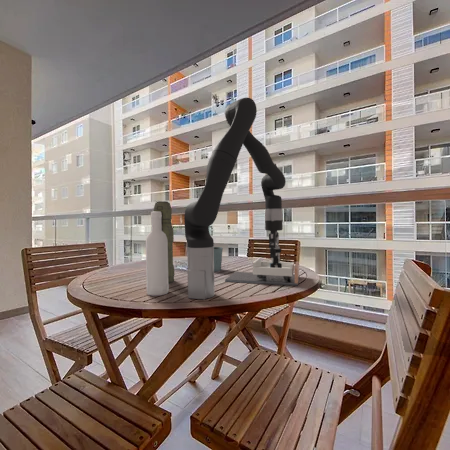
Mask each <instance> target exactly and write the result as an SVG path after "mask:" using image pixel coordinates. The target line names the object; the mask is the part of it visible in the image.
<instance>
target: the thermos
mask: <svg viewBox="0 0 450 450" xmlns="http://www.w3.org/2000/svg"><path fill="white" fill-rule="evenodd" d="M172 211H173V209H172V206H171V203H170V201H167V200H166V201H165V200H163V201H162V200H161V201H159V200H158V201H155V203H154V205H153V212H161V215H162V217H161V224H162V231H163V232H164V233H165V234H166V237H167V240H168V283H169V284H173V283H174V282H175V266H174V249H173V243H174V241H175V239H174V227H173V223H172V218H173V216H172V214H173V213H172Z"/></svg>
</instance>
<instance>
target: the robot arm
mask: <svg viewBox="0 0 450 450" xmlns="http://www.w3.org/2000/svg"><path fill="white" fill-rule="evenodd" d="M257 111H258V110H257V104H256V102H255V101H254V99H252V98H250V97H242V98H239V99H237V100H236V101H234V102H231V103H230V104H228V105H227V106H226V108H225V111H224V117H225V119H226V122H227V124H228V125H229V129H228V130H227V131H226V133H225V134H224V135H223V136H222V137H221V138H220V140H219V141H218V142H217V143H216V145H215V146H214V148H213V150H212V153H211V155H210V157H209V159H208V162H207V167H206V179H205V184H204V186H203V190H202V191H201V194H200V196H199V197H198V199H197V201H193V202H190V203H189V204H188V205H187V206H186V208H185V209H184V215H183V217H184V235H185V236H184V237H185V241H186V243H187V244H186V246H187V299H197V300H206V299H210V298H212V297H214V296H215V272H214V247H215V246H214V245H215V244H214V238H213V237H212V236H211V233H210V226H211V225H213V224H214V223H215V221H216V219H217V216H218V214H219V209H220V205H221V202H222V198H223V196H224V192H225V190H226V188H227V185H228V183H229V180H230V178H231V175H232V174H233V170H234V168H235V165H236V163H237V161H238V157H239V154H240V152H241V150H242V147H243V146H244V147H245V149H246V151H247V152H248V153H249V155H250V157H251V159H252V161H253V163H254V165H255V167H256V169H257V171H258V172H259V173H260V174H264V176H263V177H262V179H261V181H260V182H261V184H260V186H261V189H262V193H263V197H264V200H265V205H264V206H265V209H264V210H265V212H264V230H265V231H266V232H267V231H268V232H270V233H268V249H270V250H269V252H270V253H269V257H270V259H271V258H275V257H276V246H279V245H280V244H279V242H280V240H279V239H280V235H279V232H278V231H280V232H281V231H283V229H284V228H283V225H284V224H283V221H284V220H283V211H282V208H283V207H282V206H283V205H282V204H283V203H282V201H283V200H282V197H281V195H277V194H275V193H274V191H276V190H277V191H278V190H281V189H283V188H284V187H285V185H286V176H285V175H284V173H283V172H282V171H281V170H280V169H279V167H278V166H277V165H276V163H274V161H273V159H272V156H271V154H270V153H269V151H268V149H267V148H266V146H265V145H264V144H263V143H262V142H261V141H259V139H258V138H256V136H255V135H253V133H252V132H251V128H252V126H253V124H254V122H255V119H256V117H257ZM277 255H278V254H277Z"/></svg>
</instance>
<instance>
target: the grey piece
mask: <svg viewBox="0 0 450 450" xmlns="http://www.w3.org/2000/svg"><path fill="white" fill-rule="evenodd" d="M299 262H300V261H295V263H294V273H293V276H289V279H288V280H285V279H284V278H283V276H275V275H263V277H262V278H261V279H259V278H258V277H257V275H254V274H253V271H251V272H248V271H234V272H233V273H232V274H230V275H229V276H227V277H226V278H225V279H224V281H225V283H243V284H255V285H257V284H261V285H277V286H293V287H298V286H299V285H298V284H299V279H300V278H299V277H300V263H299Z"/></svg>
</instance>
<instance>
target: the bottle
mask: <svg viewBox="0 0 450 450" xmlns="http://www.w3.org/2000/svg"><path fill="white" fill-rule="evenodd" d="M161 217H162V215H161V212H154V211H150V218H151V219H150V225H151V227H150V228H151V230H150V232H149V233H148V234H147V235H146V238H145V260H146V261H145V267H146V270H145V271H146V272H145V273H146V295H148V296H151V297H152V296H153V297H157V296H159V297H160V296H163V295H166V294H168V293H169V287H170V286H169V284H170V283H168V240H167V237H166V234H165V233H164V232H163V231H162V224H161Z"/></svg>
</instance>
